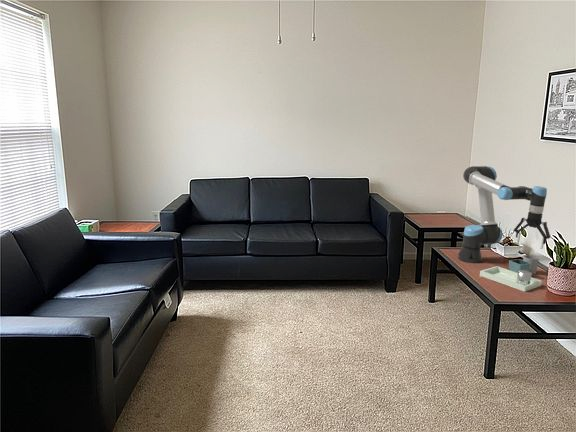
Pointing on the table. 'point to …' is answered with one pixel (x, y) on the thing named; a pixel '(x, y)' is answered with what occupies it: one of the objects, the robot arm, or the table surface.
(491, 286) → the table surface
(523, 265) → the flower pot
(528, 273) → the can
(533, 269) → the cup
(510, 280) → the shallow serving tray
